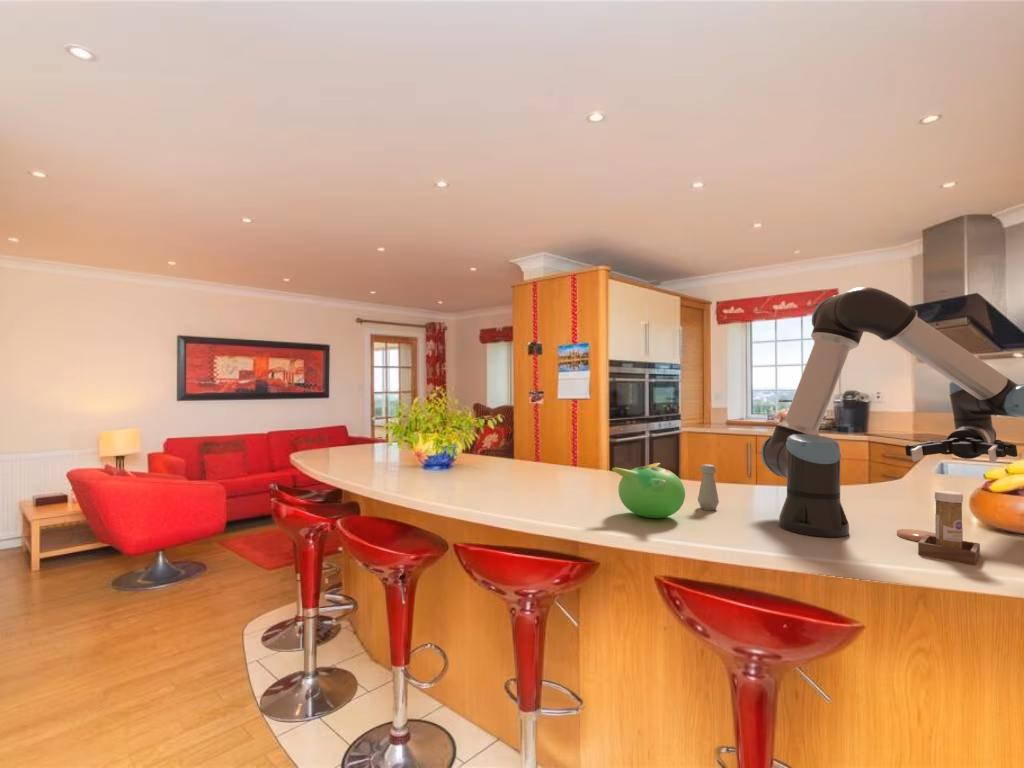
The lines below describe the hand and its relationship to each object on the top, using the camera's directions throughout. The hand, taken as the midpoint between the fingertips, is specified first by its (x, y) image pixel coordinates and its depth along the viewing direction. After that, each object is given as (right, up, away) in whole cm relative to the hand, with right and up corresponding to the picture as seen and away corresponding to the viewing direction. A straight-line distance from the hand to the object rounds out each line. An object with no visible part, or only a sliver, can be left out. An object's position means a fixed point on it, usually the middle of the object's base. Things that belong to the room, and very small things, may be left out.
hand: (950, 456), depth 115 cm
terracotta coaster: (-3, -20, +4) cm, 21 cm away
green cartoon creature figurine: (-63, -20, +23) cm, 70 cm away
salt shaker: (-43, -21, +33) cm, 58 cm away
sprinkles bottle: (-8, -20, -8) cm, 23 cm away
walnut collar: (-8, -20, -8) cm, 23 cm away
